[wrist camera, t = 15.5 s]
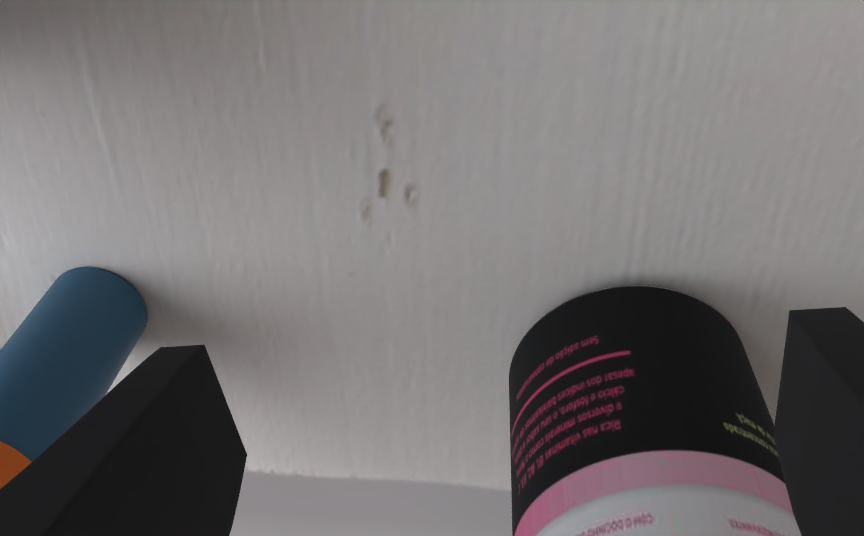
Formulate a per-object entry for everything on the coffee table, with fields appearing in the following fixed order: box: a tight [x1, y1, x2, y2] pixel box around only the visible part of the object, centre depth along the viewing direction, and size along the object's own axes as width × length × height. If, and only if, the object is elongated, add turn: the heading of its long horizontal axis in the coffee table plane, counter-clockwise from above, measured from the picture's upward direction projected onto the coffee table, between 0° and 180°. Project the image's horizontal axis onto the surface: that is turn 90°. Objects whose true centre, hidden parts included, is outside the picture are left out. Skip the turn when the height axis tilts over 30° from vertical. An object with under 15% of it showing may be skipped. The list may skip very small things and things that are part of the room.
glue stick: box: [0, 267, 147, 489], centre depth 20 cm, size 3×3×8 cm
